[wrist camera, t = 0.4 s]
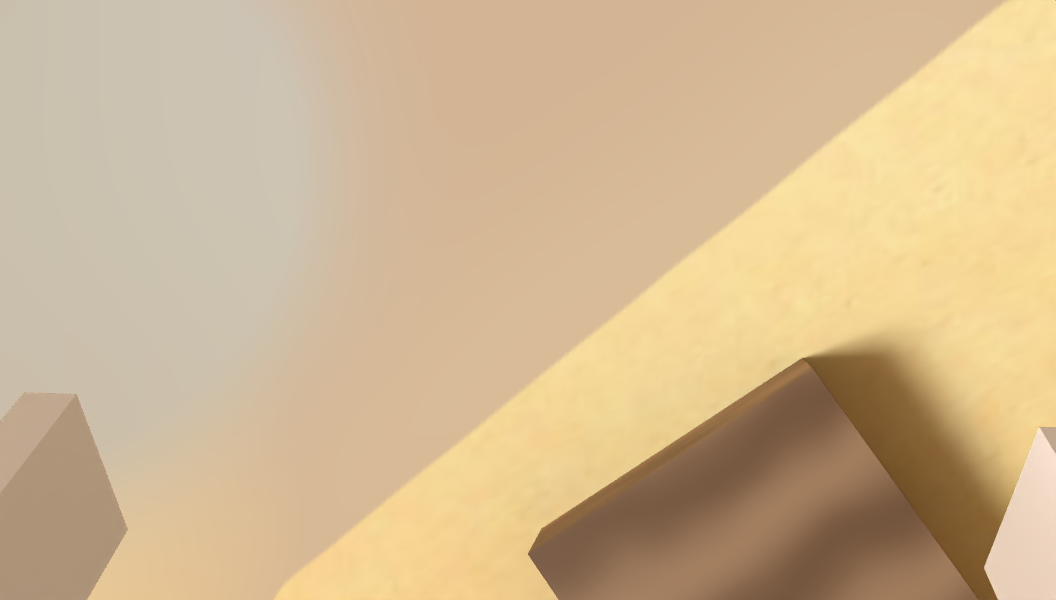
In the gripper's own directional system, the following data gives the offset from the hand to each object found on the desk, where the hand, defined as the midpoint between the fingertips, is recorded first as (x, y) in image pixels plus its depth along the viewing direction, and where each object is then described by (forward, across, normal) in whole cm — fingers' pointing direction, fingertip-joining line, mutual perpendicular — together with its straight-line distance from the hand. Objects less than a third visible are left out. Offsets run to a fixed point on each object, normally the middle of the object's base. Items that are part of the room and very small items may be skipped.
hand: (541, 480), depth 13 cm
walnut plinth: (+22, -10, +28) cm, 36 cm away
